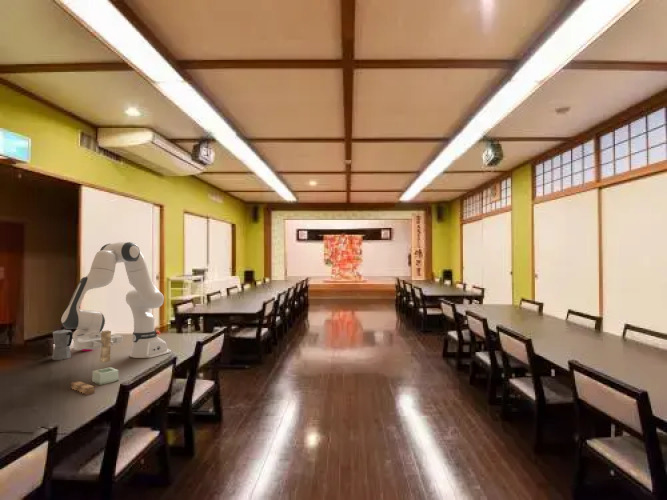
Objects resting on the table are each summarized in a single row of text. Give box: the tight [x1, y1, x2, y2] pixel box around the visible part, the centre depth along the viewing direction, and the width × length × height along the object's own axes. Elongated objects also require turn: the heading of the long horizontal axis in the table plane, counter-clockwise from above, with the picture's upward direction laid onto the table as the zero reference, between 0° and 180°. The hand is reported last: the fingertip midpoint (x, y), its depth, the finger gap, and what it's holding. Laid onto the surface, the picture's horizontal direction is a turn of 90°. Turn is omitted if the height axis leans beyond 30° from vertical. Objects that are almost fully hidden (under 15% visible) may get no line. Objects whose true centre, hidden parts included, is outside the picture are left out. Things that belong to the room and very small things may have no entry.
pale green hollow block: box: [91, 366, 119, 386], centre depth 184 cm, size 8×8×5 cm
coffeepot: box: [51, 326, 73, 361], centre depth 223 cm, size 15×9×18 cm, turn 67°
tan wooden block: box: [99, 329, 112, 363], centre depth 184 cm, size 3×3×14 cm
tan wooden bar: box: [70, 380, 95, 395], centre depth 170 cm, size 14×3×3 cm, turn 57°
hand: (106, 344), depth 183 cm, fingers closed on tan wooden block, 3 cm apart
